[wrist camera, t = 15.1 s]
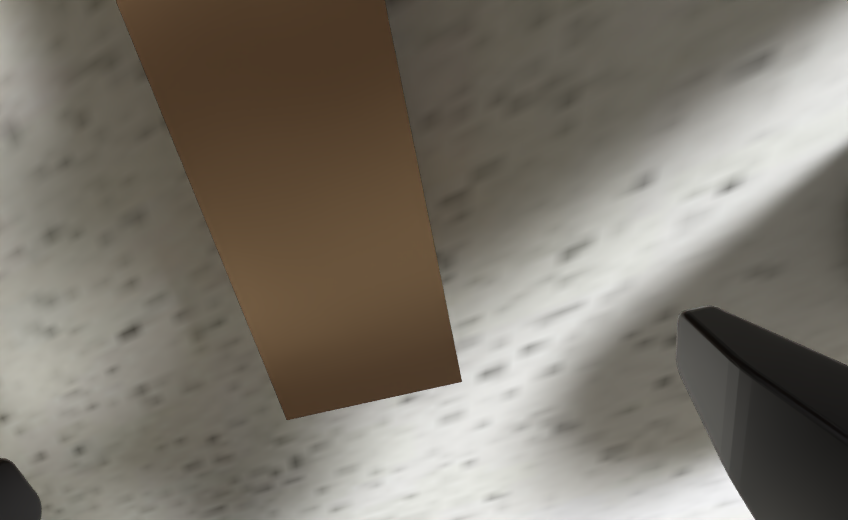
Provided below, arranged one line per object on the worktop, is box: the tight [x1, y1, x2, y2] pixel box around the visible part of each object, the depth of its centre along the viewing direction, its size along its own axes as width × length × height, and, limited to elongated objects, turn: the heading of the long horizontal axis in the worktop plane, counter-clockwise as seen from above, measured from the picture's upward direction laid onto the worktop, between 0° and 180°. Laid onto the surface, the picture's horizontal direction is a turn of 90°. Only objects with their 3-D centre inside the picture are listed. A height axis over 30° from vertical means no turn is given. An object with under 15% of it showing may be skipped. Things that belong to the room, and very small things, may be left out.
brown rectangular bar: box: [116, 0, 462, 420], centre depth 11 cm, size 14×4×4 cm, turn 10°
